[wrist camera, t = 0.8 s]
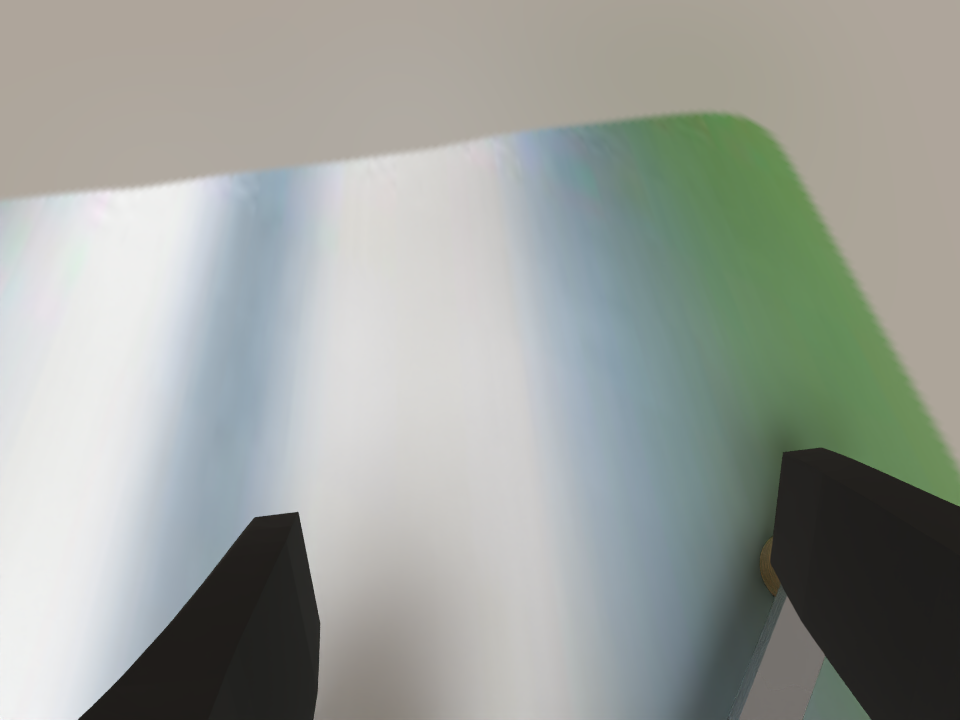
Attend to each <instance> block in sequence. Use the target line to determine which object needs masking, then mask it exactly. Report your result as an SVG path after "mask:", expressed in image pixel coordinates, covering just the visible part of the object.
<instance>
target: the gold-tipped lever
mask: <svg viewBox="0 0 960 720" xmlns="http://www.w3.org/2000/svg"><path fill="white" fill-rule="evenodd" d="M772 541H773V536H772V537H771V538H770V539H769V540H768V541H767V542H766V544H765V545H764V547H763V549H762V552H761V556H760V571H761V575H762V578H763V581H764V583H765V585H766V587H767V588H768V590H769V591H770V592H771V594H772V595H773V596H774V597H775V599H774V602H773V604H772V607H771V609H770V612H769V615H768V617H767V620H766V622H765V625H764V627H763V630H762V632H761V635H760V637H759V640H758V642H757V645H756V647H755V650H754V653H753V655H752V658H751V660H750V663H749V665H748V668H747V670H746V673H745V675H744V678H743V680H742V683H741V686H740V688H739V691H738V693H737V696H736V698H735V701H734V703H733V706H732V708H731V711H730V713H729V716H728V718H727V720H802V719H803V717H804V714H805V711H806V708H807V705H808V703H809V700H810V697H811V694H812V691H813V689H814V686H815V683H816V680H817V677H818V675H819V672H820V669H821V666H822V663H823V661H824V658H825V655H824V653H823V652H822V650H821V649H820V647H819V646H818V645H817V643H816V642H815V640H814V639H813V638H812V636H811V635H810V633H809V632H808V630H807V629H806V627H805V626H804V625H803V623H802V622H801V620H800V618H799V616H798V614H797V613H796V611H795V609H794V607H793V605H792V604H791V602H790V600H789V598H788V596H787V595H786V593H785V591H784V589H783V587H782V585H781V583H780V581H779V579H778V577H777V575H776V573H775V571H774V569H773V567H772V565H771V563H770V558H771V550H772Z"/></svg>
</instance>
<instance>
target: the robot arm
mask: <svg viewBox="0 0 960 720" xmlns="http://www.w3.org/2000/svg"><path fill="white" fill-rule="evenodd" d="M770 563H771V565H772V567H773V569H774V571H775V573H776V575H777V577H778V579H779V581H780V583H781V585H782V587H783V589H784V591H785V593H786V595H787V596H788V598H789V600H790V602H791V604H792V605H793V607H794V609H795V611H796V613H797V614H798V616H799V618H800V620H801V622H802V623H803V625H804V626H805V627H806V629H807V630H808V632H809V633H810V635H811V636H812V638H813V639H814V640H815V642H816V643H817V645H818V646H819V647H820V649H821V650H822V652H823V653H824V655H825V656H826V657H827V659H828V660H829V662H830V663H831V664H832V666H833V667H834V669H835V670H836V671H837V673H838V674H839V676H840V677H841V678H842V680H843V681H844V682H845V684H846V685H847V687H848V688H849V689H850V691H851V692H852V693H853V695H854V696H855V698H856V699H857V700H858V702H859V703H860V705H861V706H862V707H863V709H864V710H865V711H866V713H867V714H868V716H869V717H870V718H871V720H960V507H959V506H957V505H954V504H952V503H950V502H948V501H945V500H943V499H941V498H939V497H936V496H934V495H932V494H930V493H927V492H925V491H923V490H921V489H919V488H916V487H914V486H912V485H910V484H908V483H905V482H903V481H901V480H899V479H896V478H894V477H892V476H890V475H888V474H885V473H883V472H881V471H879V470H876V469H874V468H872V467H870V466H867V465H865V464H863V463H860V462H858V461H856V460H853V459H851V458H848V457H846V456H843V455H841V454H838V453H836V452H833V451H830V450H827V449H824V448H815V449H806V450H798V451H790V452H783V457H782V465H781V474H780V482H779V491H778V499H777V508H776V516H775V524H774V533H773V541H772V550H771V558H770ZM319 646H320V620H319V615H318V610H317V605H316V600H315V594H314V589H313V584H312V579H311V574H310V569H309V564H308V559H307V554H306V548H305V543H304V538H303V533H302V528H301V523H300V518H299V513H298V512H294V513H286V514H278V515H270V516H262V517H255V518H254V519H253V520H252V521H251V522H250V524H249V525H248V526H247V527H246V529H245V530H244V531H243V532H242V533H241V535H240V536H239V537H238V539H237V540H236V541H235V543H234V544H233V545H232V546H231V548H230V549H229V550H228V552H227V553H226V554H225V555H224V557H223V558H222V559H221V561H220V562H219V563H218V565H217V566H216V567H215V568H214V570H213V571H212V572H211V573H210V575H209V576H208V577H207V579H206V580H205V581H204V582H203V584H202V585H201V586H200V587H199V588H198V590H197V591H196V592H195V593H194V595H193V596H192V597H191V598H190V599H189V601H188V602H187V603H186V604H185V605H184V607H183V608H182V609H181V610H180V612H179V613H178V614H177V615H176V616H175V618H174V619H173V620H172V621H171V622H170V624H169V625H168V626H167V627H166V628H165V629H164V630H163V632H162V633H161V634H160V635H159V636H158V637H157V638H156V639H155V640H154V642H153V643H152V644H151V645H150V646H149V647H148V648H147V649H146V650H145V651H144V653H143V654H142V655H141V656H140V657H139V658H138V659H137V660H136V661H135V663H134V664H133V665H132V666H131V667H130V668H129V669H128V670H127V671H126V672H125V674H124V675H123V676H122V677H121V678H120V679H119V680H118V681H117V682H116V683H115V684H114V685H113V686H112V687H111V688H110V689H109V690H108V691H107V692H106V693H105V694H104V695H103V696H102V697H101V698H100V699H99V700H98V701H97V702H96V703H95V704H94V705H93V706H92V707H91V708H90V709H89V710H88V711H86V712H85V713H84V714H83V715H82V716H81V717H80V718H79V719H78V720H313V718H314V712H315V705H316V698H317V692H318V672H319Z"/></svg>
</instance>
